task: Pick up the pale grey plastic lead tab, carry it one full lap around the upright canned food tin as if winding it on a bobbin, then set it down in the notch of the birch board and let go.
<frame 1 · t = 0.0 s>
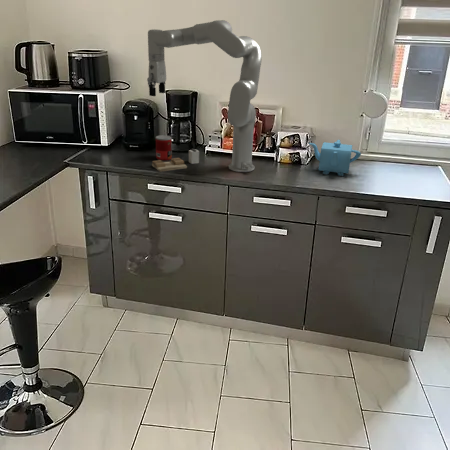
hand: (157, 94, 237), 31 cm above the countertop, tool pointing down, fingers open, 9 cm apart
teakettle: (331, 172, 237), on the countertop
tab: (193, 162, 243), on the countertop
board: (169, 166, 235), on the countertop
canned food: (164, 158, 248), on the countertop
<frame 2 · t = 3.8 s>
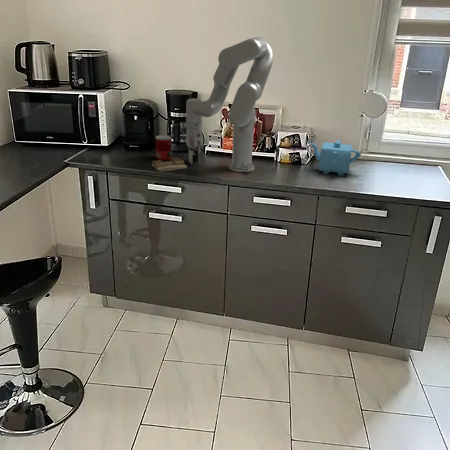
hand: (193, 161, 243), 1 cm above the countertop, tool pointing down, fingers closed on tab, 3 cm apart
tab: (193, 162, 243), on the countertop, touching gripper
everything else where it was.
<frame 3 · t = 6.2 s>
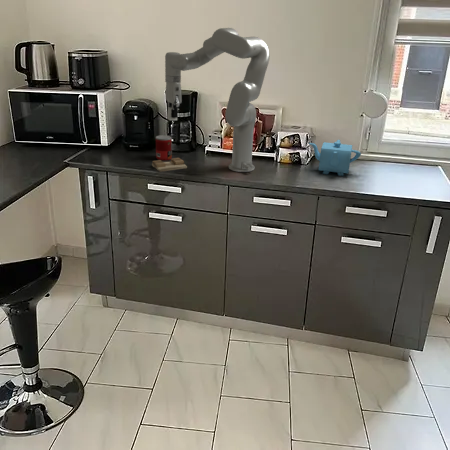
hand: (172, 116, 246), 20 cm above the countertop, tool pointing down, fingers closed on tab, 3 cm apart
tab: (172, 119, 246), point 18 cm above the countertop, touching gripper
everything else where it was.
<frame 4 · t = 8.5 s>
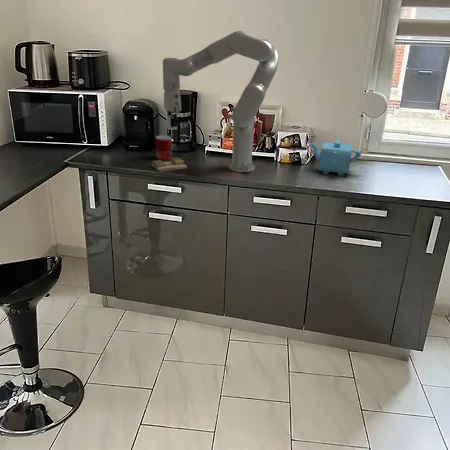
hand: (172, 125, 232), 19 cm above the countertop, tool pointing down, fingers closed on tab, 3 cm apart
tab: (171, 128, 233), point 17 cm above the countertop, touching gripper
everything else where it was.
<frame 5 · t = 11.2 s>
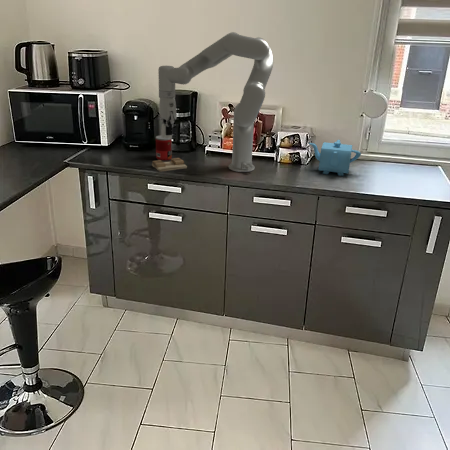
hand: (167, 133, 230), 16 cm above the countertop, tool pointing down, fingers closed on tab, 3 cm apart
tab: (166, 136, 230), point 14 cm above the countertop, touching gripper
everything else where it was.
when the fingers open (3 cm above the countertop, at t = 13.7 s): tab stays where it is, resting on board.
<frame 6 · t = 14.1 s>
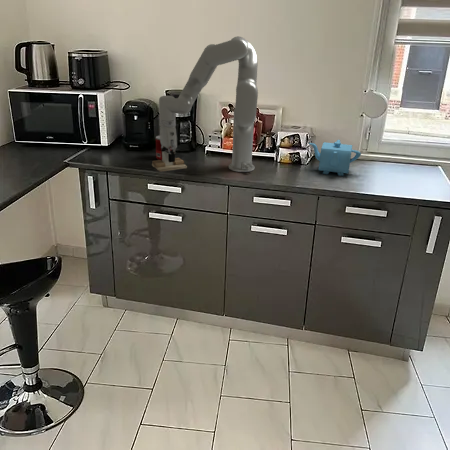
hand: (168, 159, 235), 3 cm above the countertop, tool pointing down, fingers open, 7 cm apart
tab: (167, 164, 236), point 1 cm above the countertop, touching board
everything else where it was.
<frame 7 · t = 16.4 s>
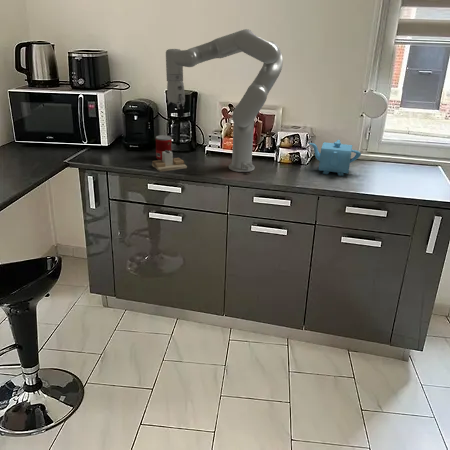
hand: (176, 115, 230), 24 cm above the countertop, tool pointing down, fingers open, 9 cm apart
nothing on the countertop moved.
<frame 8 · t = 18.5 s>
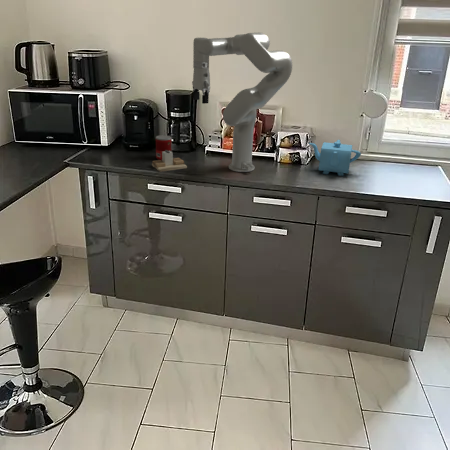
hand: (200, 101, 240), 28 cm above the countertop, tool pointing down, fingers open, 9 cm apart
nothing on the countertop moved.
at the end: tab 0.6 cm from the target spot on the board, point 1.0 cm above the board's base; tab tilted 0°; the gripper is holding nothing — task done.
